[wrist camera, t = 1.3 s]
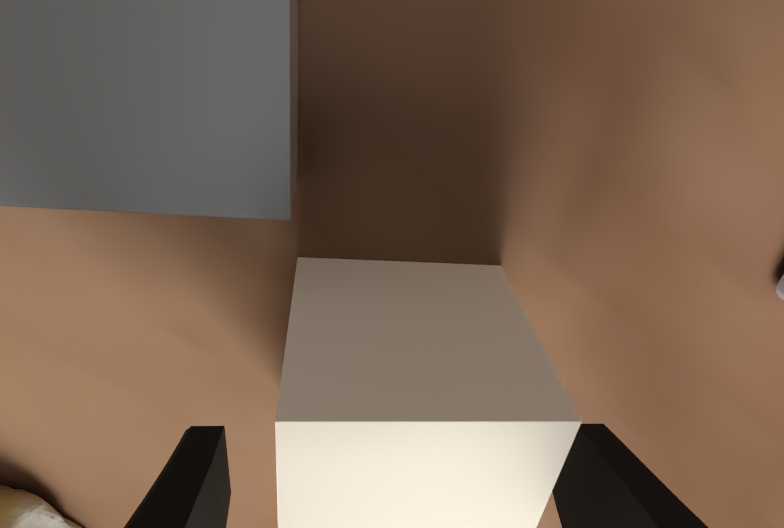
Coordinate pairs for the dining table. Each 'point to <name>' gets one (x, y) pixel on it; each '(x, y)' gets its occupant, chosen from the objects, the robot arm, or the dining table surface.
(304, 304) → the ivory cube
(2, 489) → the pastry
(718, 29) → the dining table surface
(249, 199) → the slate stand
